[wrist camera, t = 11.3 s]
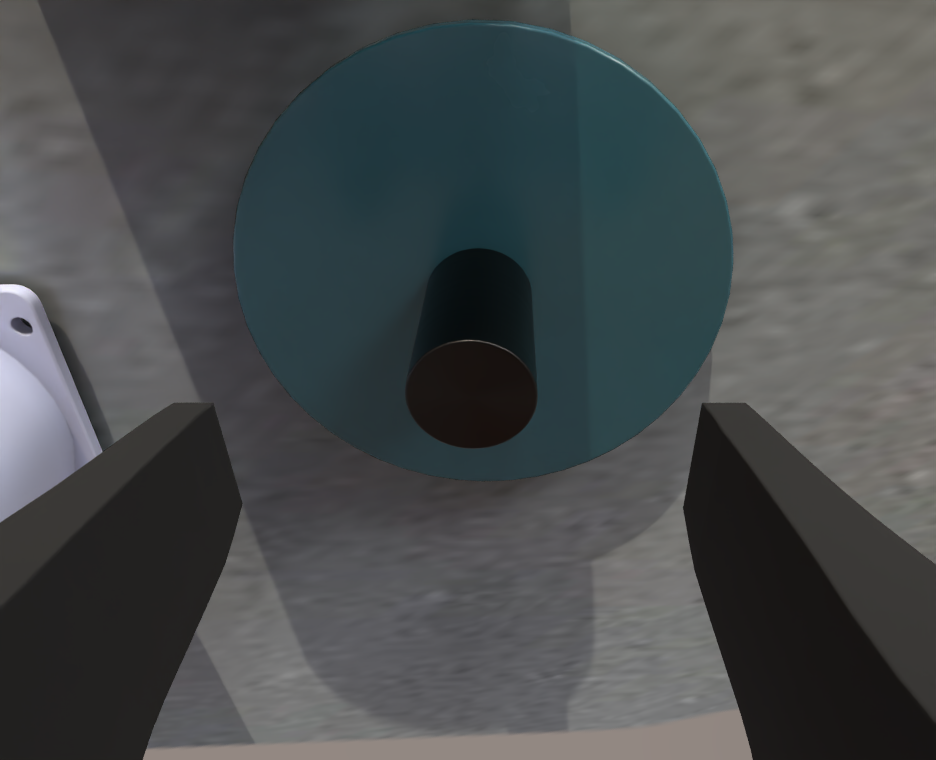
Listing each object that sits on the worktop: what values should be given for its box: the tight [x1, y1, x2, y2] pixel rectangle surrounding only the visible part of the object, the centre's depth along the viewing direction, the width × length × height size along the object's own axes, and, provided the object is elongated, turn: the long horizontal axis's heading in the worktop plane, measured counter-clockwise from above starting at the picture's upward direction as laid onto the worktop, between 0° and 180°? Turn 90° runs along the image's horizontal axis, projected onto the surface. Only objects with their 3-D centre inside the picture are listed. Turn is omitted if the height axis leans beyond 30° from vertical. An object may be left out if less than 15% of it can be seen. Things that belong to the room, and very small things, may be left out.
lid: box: [233, 19, 733, 481], centre depth 15 cm, size 11×11×5 cm
